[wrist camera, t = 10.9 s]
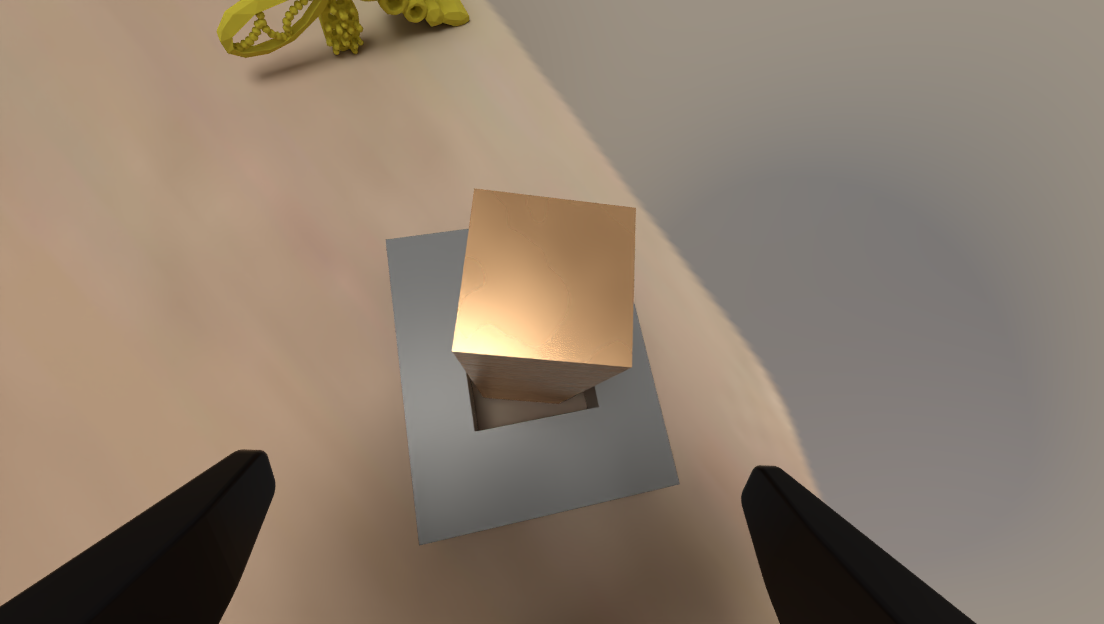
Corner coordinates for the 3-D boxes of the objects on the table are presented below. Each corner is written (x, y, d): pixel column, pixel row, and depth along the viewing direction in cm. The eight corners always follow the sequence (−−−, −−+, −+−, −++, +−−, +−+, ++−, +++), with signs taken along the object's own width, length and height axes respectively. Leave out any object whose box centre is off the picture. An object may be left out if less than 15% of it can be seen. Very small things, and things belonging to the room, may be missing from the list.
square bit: (558, 403, 20) (632, 367, 8) (483, 397, 19) (452, 351, 8) (563, 331, 21) (635, 207, 9) (492, 324, 20) (474, 188, 9)
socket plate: (658, 477, 19) (679, 484, 17) (430, 530, 18) (419, 545, 15) (599, 234, 22) (610, 210, 20) (399, 261, 21) (385, 239, 18)
